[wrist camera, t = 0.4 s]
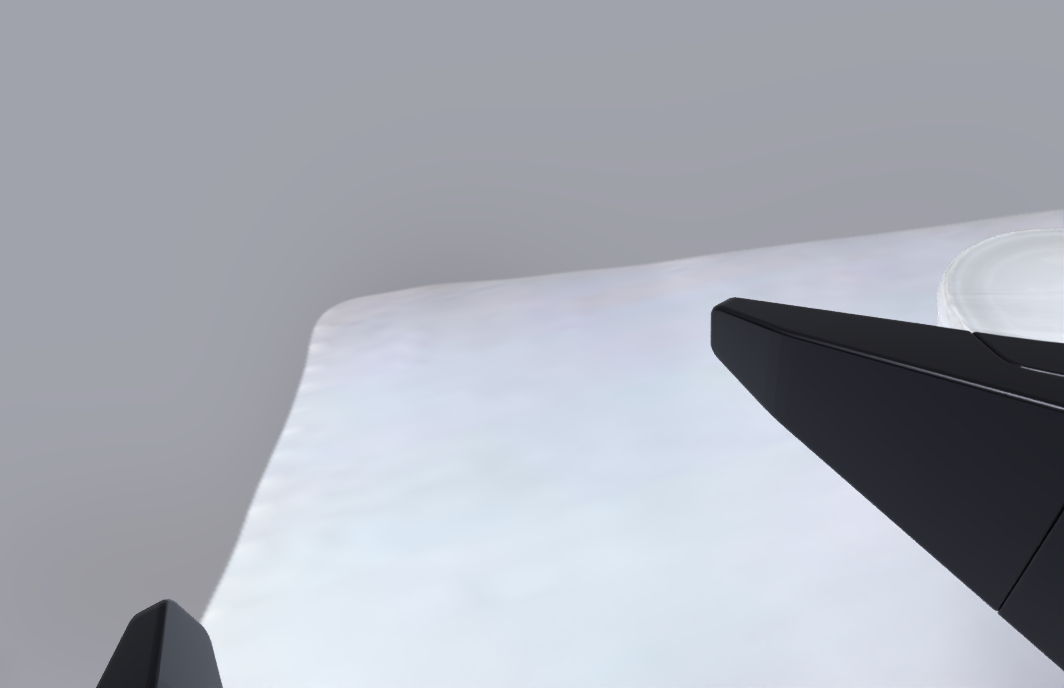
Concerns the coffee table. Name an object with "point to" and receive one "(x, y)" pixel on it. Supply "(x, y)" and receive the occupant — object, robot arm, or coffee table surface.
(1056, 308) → the ramekin
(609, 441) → the coffee table surface
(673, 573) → the coffee table surface
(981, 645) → the coffee table surface
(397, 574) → the coffee table surface
